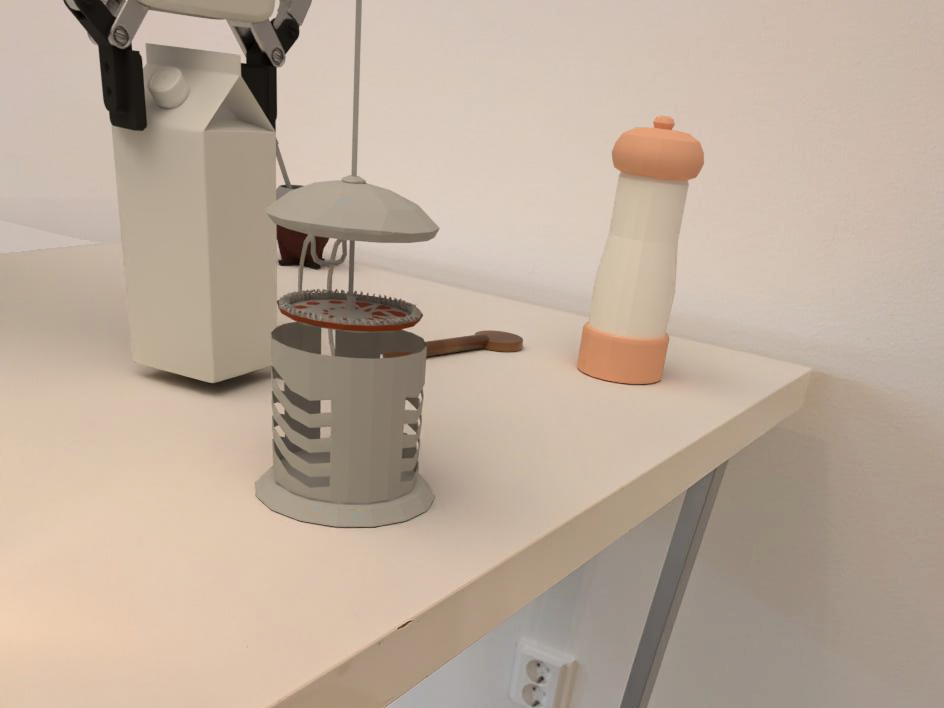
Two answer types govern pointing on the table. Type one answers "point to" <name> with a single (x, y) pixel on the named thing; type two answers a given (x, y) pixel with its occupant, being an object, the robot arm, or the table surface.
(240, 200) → the milk carton
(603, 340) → the pepper shaker
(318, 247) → the mate gourd
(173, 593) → the table surface
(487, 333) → the wooden spoon
